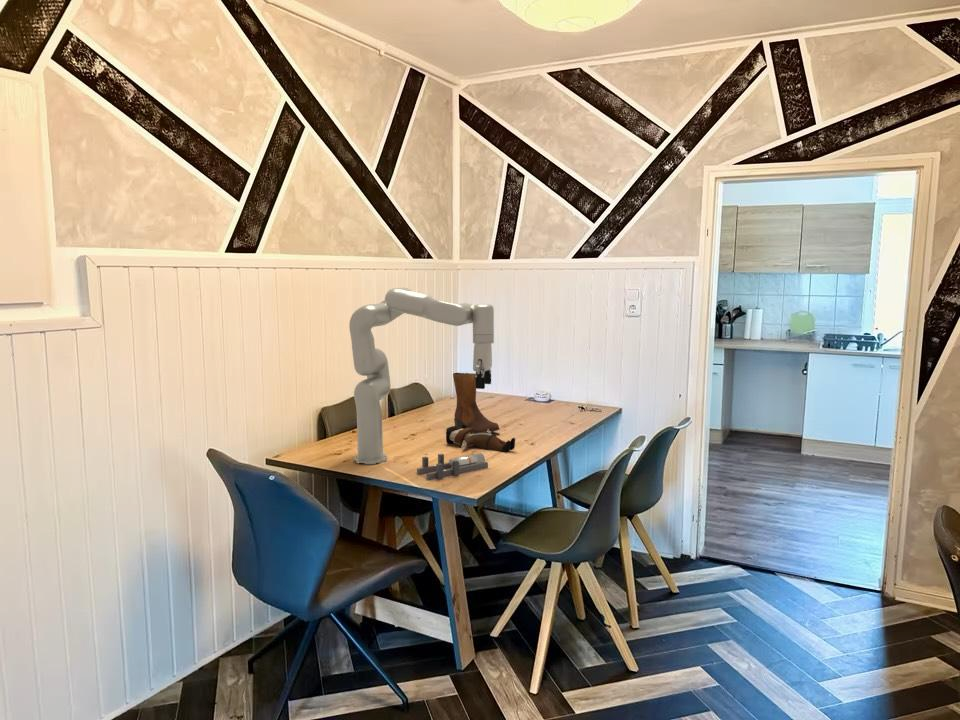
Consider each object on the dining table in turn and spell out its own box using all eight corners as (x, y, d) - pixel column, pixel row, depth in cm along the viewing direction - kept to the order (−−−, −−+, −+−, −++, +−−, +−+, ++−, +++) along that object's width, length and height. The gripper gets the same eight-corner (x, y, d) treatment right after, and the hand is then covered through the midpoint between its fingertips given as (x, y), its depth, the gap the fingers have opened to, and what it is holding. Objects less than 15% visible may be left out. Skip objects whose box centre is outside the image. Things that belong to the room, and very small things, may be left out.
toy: (498, 447, 242) (433, 428, 256) (496, 470, 244) (431, 450, 258) (525, 432, 262) (464, 415, 276) (523, 454, 264) (462, 436, 279)
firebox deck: (414, 475, 226) (414, 458, 225) (472, 463, 240) (472, 447, 239) (431, 484, 216) (430, 466, 215) (490, 471, 230) (490, 455, 229)
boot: (503, 434, 284) (503, 375, 280) (488, 437, 277) (488, 377, 274) (465, 424, 302) (465, 368, 298) (450, 427, 296) (450, 370, 292)
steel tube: (455, 472, 225) (454, 459, 225) (448, 469, 229) (448, 457, 229) (485, 466, 233) (484, 454, 232) (478, 463, 236) (478, 451, 236)
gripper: (479, 336, 235) (479, 381, 237) (466, 341, 218) (467, 390, 221) (498, 336, 233) (498, 382, 235) (487, 341, 217) (488, 390, 219)
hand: (483, 386), depth 228 cm, fingers open, 9 cm apart
